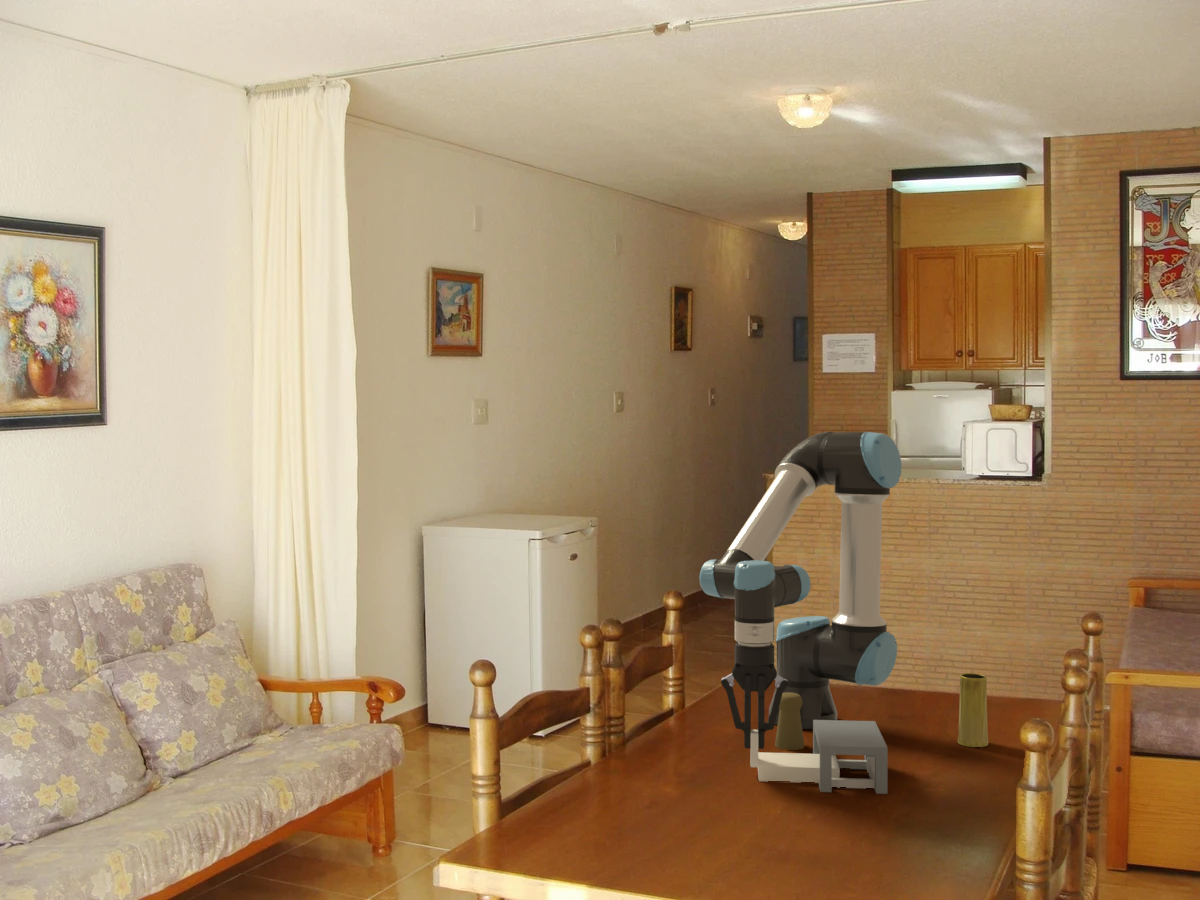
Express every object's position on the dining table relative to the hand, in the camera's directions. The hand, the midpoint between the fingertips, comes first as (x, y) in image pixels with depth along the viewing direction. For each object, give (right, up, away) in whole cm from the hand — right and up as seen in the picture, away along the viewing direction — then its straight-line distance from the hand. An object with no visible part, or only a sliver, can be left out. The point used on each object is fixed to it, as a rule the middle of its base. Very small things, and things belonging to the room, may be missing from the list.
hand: (754, 765), depth 226 cm
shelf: (+18, -2, -2) cm, 18 cm away
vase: (+48, -1, +20) cm, 52 cm away
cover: (+8, -2, 0) cm, 9 cm away
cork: (+10, -1, +19) cm, 21 cm away
